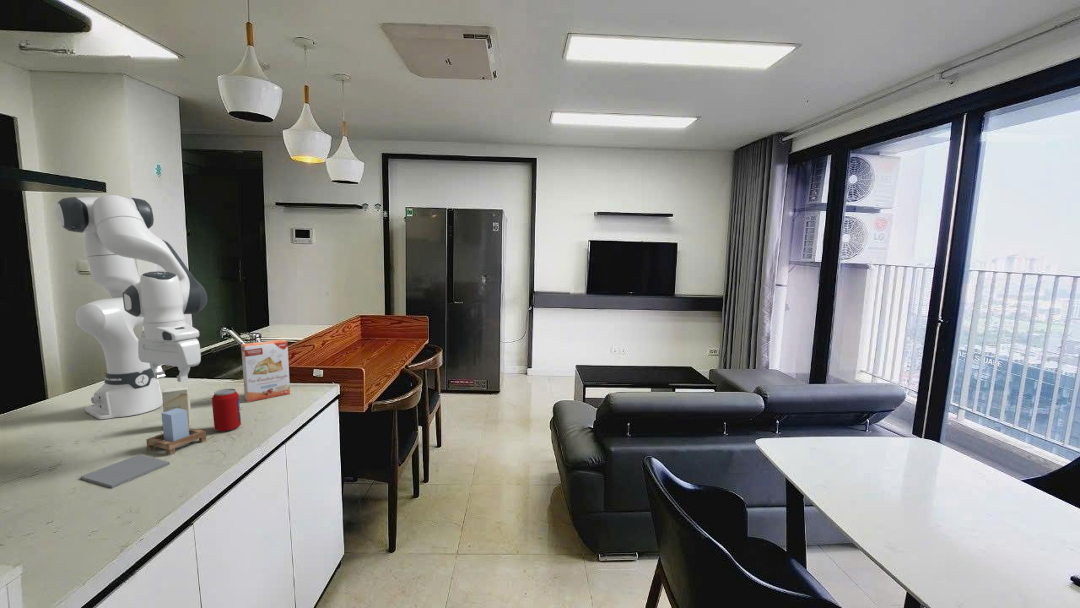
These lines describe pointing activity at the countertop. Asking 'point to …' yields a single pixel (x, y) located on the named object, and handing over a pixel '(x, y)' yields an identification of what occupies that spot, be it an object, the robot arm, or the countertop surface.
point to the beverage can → (226, 410)
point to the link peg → (175, 425)
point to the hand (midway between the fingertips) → (171, 379)
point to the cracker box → (265, 369)
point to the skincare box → (177, 400)
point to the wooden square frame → (170, 446)
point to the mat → (124, 470)
